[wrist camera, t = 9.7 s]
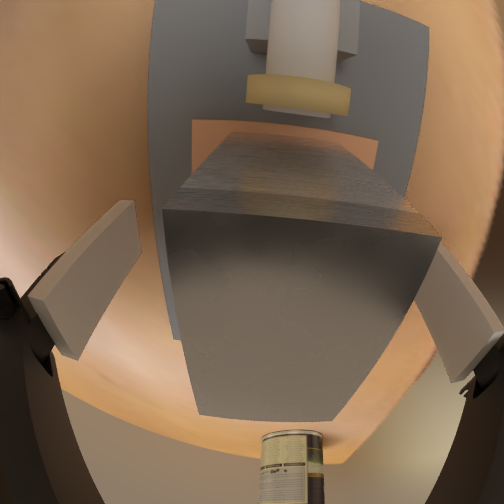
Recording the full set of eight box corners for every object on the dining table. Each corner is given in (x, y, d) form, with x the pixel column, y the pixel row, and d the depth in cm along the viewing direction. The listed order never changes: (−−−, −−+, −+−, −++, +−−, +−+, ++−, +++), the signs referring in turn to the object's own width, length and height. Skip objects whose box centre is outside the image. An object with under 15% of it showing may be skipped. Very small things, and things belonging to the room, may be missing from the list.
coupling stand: (164, -2, 9) (87, -50, 2) (418, 30, 9) (509, 13, 2) (177, 329, 22) (153, 407, 16) (339, 342, 22) (353, 421, 15)
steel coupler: (227, 270, 16) (199, 414, 9) (232, 131, 12) (161, 208, 4) (311, 277, 16) (332, 420, 8) (337, 142, 12) (441, 237, 4)
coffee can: (334, 430, 35) (338, 507, 23) (304, 447, 40) (304, 511, 29) (276, 426, 34) (273, 511, 22) (252, 442, 39) (247, 511, 27)
